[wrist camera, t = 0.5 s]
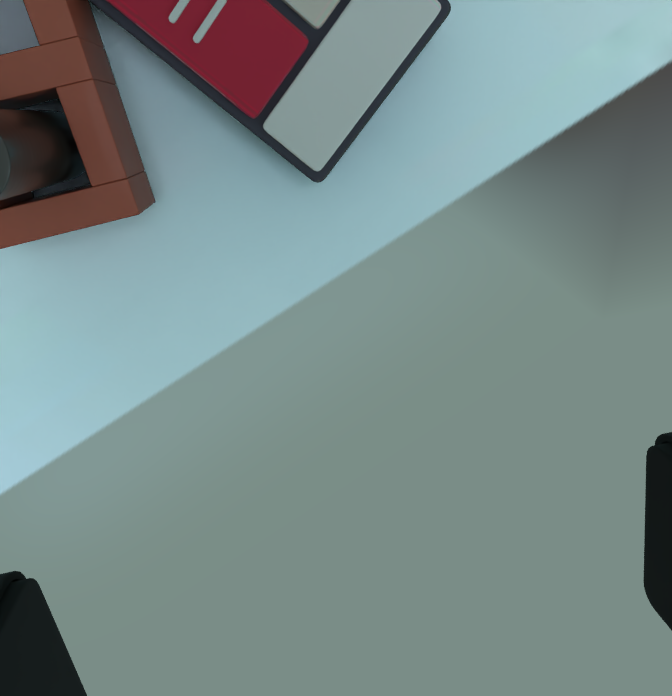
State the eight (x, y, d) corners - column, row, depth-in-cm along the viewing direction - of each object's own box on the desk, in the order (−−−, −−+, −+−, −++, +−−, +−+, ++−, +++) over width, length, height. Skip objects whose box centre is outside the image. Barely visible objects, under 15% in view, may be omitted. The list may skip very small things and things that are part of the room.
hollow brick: (-108, -54, 30) (-177, -88, 25) (57, -93, 30) (20, -133, 25) (16, 236, 35) (-22, 254, 30) (155, 202, 35) (139, 214, 31)
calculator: (199, -253, 26) (460, 2, 29) (211, -198, 30) (438, 20, 33) (61, -22, 28) (320, 187, 32) (90, -1, 32) (316, 182, 36)
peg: (13, 120, 33) (-115, 119, 22) (78, 104, 33) (-15, 95, 22) (39, 187, 34) (-68, 218, 23) (102, 171, 34) (26, 195, 23)
